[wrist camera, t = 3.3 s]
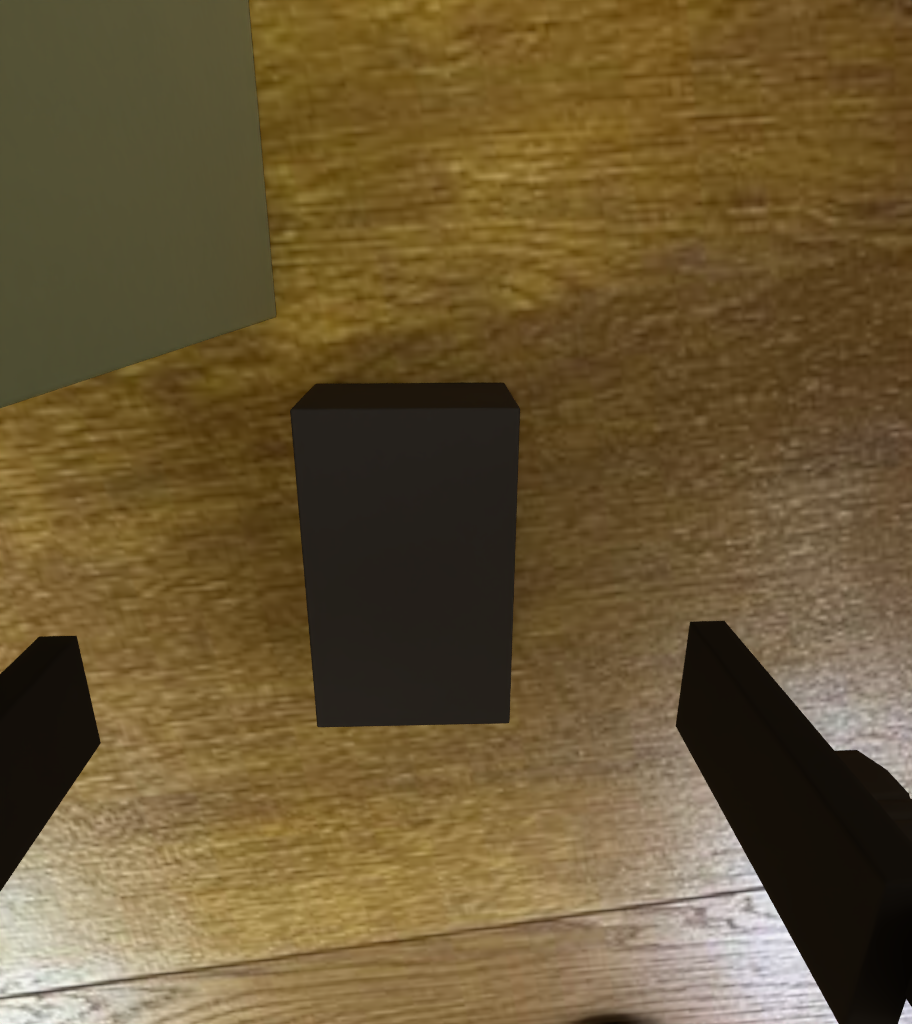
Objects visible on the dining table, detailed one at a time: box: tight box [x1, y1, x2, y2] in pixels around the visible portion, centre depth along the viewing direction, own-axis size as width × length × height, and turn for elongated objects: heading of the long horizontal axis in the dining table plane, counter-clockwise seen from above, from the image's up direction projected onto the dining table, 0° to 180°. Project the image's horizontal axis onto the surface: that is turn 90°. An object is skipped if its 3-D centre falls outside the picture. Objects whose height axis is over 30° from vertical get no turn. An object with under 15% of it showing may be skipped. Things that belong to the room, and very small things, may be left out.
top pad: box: [290, 383, 520, 727], centre depth 21 cm, size 10×6×4 cm, turn 0°
